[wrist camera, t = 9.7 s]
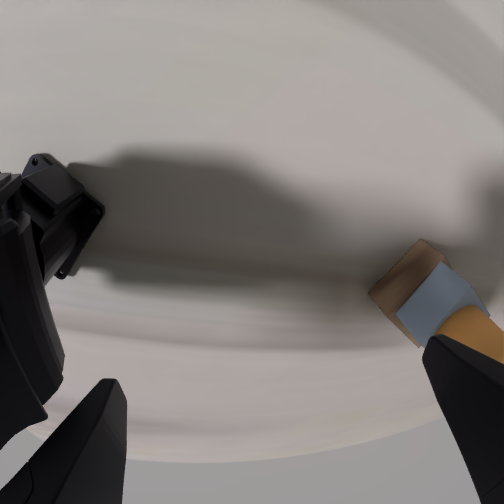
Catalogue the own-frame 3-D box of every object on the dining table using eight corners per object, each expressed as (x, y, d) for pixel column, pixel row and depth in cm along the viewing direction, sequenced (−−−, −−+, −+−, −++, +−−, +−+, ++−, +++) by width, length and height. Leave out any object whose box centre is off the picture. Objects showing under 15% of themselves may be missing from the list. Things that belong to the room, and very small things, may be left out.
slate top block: (424, 337, 22) (446, 364, 19) (395, 313, 20) (419, 344, 17) (464, 291, 21) (490, 315, 18) (440, 261, 19) (471, 285, 16)
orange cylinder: (440, 371, 19) (469, 411, 15) (417, 346, 17) (453, 395, 13) (486, 324, 18) (521, 360, 14) (471, 291, 16) (514, 331, 12)
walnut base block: (400, 324, 26) (418, 348, 23) (366, 291, 24) (386, 316, 20) (445, 277, 24) (468, 297, 21) (418, 237, 22) (444, 256, 19)
